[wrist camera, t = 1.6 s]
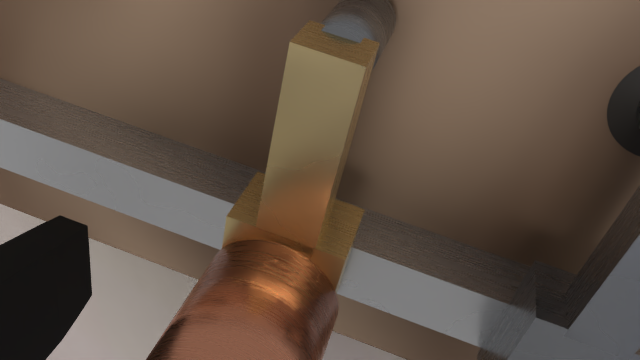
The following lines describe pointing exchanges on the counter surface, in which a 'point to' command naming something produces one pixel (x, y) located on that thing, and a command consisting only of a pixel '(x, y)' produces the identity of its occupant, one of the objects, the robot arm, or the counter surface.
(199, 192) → the steel beam
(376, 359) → the counter surface
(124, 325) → the counter surface
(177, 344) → the sliding leg
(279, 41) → the hole plate
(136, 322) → the counter surface
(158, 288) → the counter surface
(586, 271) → the fixed leg
